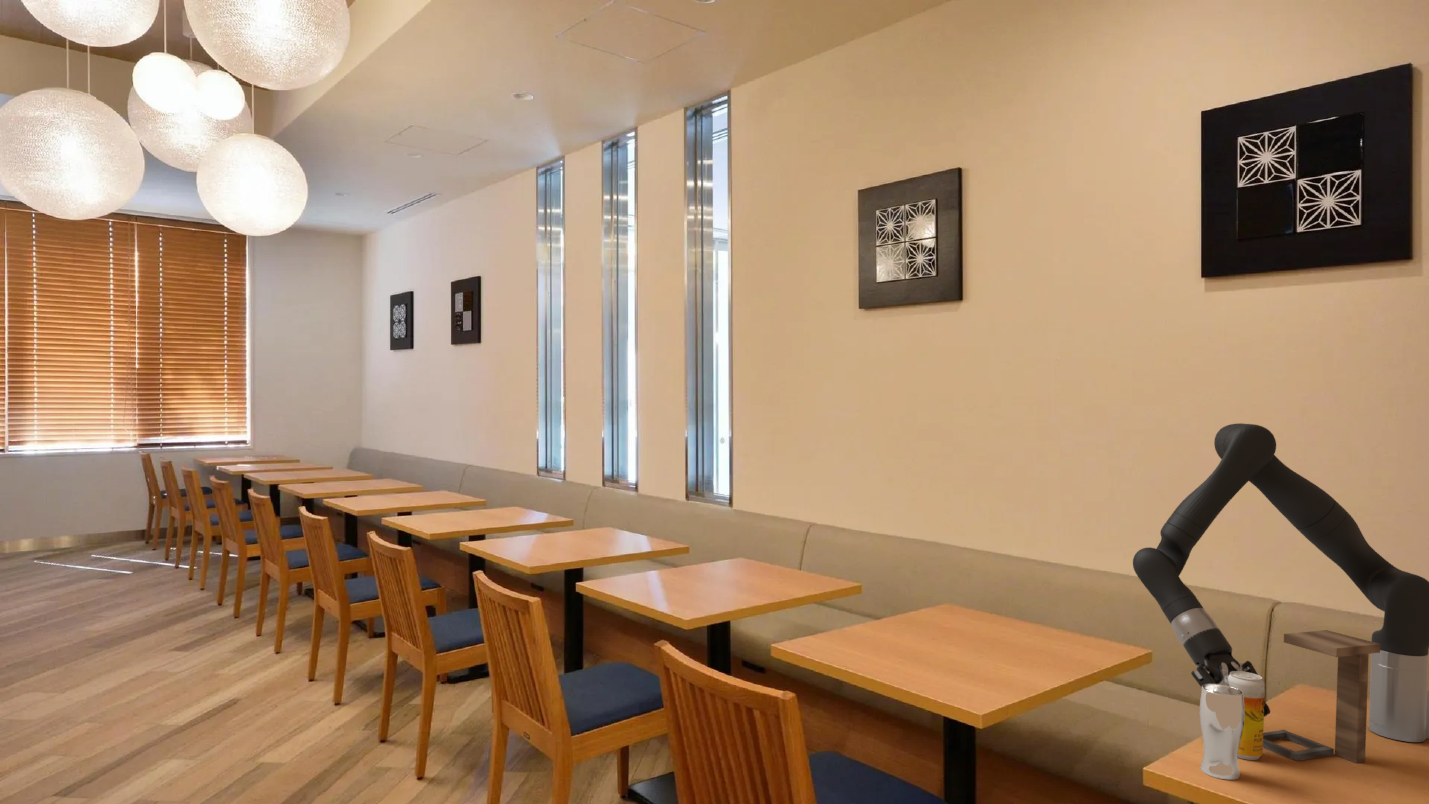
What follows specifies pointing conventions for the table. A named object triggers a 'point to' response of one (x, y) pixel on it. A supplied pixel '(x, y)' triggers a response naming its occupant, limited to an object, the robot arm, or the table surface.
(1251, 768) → the table surface
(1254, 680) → the beer can
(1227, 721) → the beer glass
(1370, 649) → the overhang bracket
